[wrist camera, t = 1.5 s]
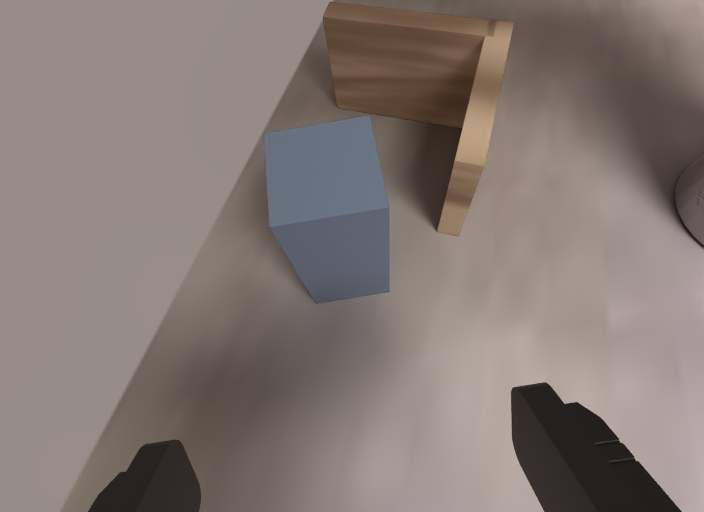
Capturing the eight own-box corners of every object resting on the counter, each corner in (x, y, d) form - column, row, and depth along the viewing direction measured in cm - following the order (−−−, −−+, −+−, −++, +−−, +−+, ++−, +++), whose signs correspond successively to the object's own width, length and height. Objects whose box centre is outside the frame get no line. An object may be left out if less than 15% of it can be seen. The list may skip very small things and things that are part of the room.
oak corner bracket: (458, 236, 27) (484, 166, 20) (299, 201, 29) (269, 126, 22) (484, 117, 31) (514, 22, 24) (342, 94, 33) (329, 1, 26)
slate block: (376, 226, 28) (369, 115, 18) (389, 291, 26) (389, 207, 16) (308, 238, 28) (263, 134, 18) (315, 303, 26) (269, 227, 16)
